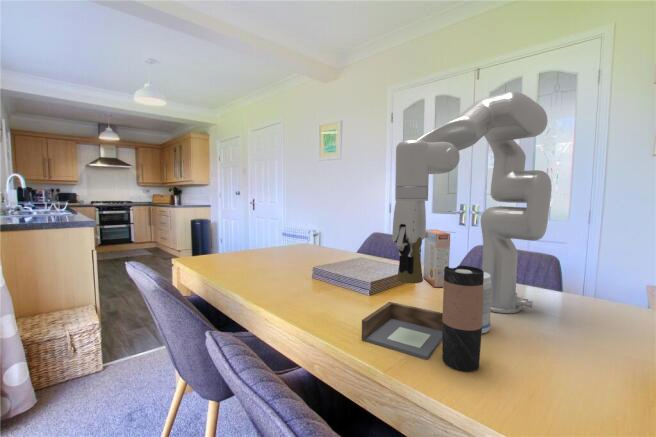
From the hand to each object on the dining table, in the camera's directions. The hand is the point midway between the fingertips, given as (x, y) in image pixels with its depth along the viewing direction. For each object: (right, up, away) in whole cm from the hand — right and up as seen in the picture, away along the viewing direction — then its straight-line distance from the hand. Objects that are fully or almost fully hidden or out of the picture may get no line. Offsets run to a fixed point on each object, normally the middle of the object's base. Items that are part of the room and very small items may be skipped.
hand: (410, 270), depth 75 cm
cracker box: (+23, -14, +51) cm, 58 cm away
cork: (0, -3, 0) cm, 2 cm away
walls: (0, -17, +3) cm, 17 cm away
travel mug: (+8, -18, -9) cm, 22 cm away
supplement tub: (+18, -17, +8) cm, 26 cm away
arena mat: (0, -17, +3) cm, 17 cm away
